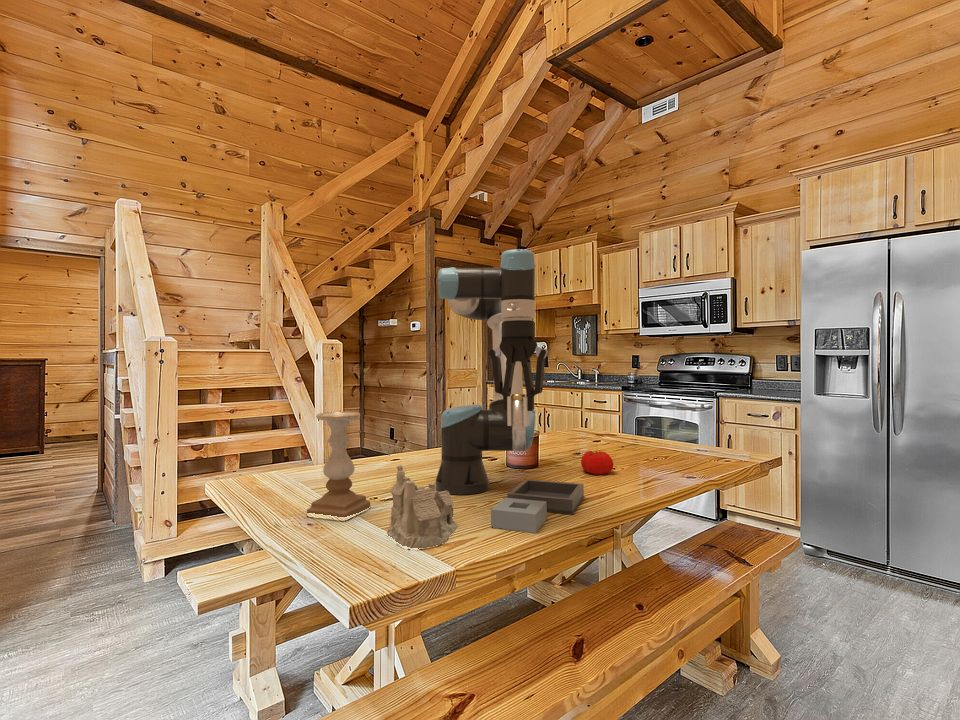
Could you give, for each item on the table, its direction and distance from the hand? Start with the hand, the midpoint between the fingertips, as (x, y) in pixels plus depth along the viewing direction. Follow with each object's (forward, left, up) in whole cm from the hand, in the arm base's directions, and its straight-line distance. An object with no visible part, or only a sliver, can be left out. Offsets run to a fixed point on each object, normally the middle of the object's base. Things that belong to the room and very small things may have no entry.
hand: (518, 425), depth 113 cm
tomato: (+9, +56, -22) cm, 61 cm away
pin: (0, 0, -6) cm, 6 cm away
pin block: (0, 0, -22) cm, 22 cm away
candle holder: (-43, -7, -22) cm, 49 cm away
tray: (+2, +18, -22) cm, 28 cm away
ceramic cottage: (-17, -13, -22) cm, 31 cm away
